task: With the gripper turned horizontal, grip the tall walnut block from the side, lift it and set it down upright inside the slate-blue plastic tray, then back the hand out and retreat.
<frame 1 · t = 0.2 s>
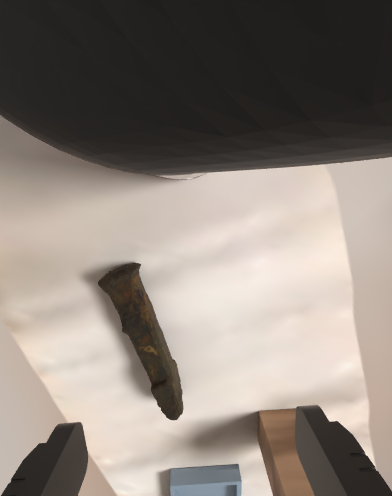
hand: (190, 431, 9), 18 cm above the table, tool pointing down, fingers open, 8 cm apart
tray: (205, 489, 35), on the table
brown rough rod: (158, 332, 28), on the table
walnut block: (276, 423, 32), on the table
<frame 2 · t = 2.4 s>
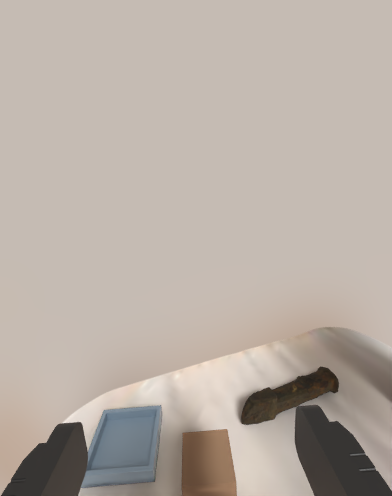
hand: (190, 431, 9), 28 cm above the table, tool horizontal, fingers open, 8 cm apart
tray: (127, 446, 36), on the table
brown rough rod: (291, 408, 41), on the table
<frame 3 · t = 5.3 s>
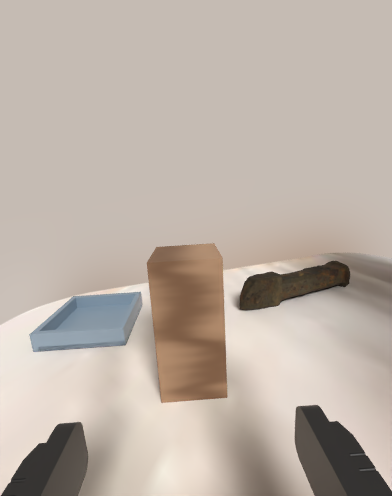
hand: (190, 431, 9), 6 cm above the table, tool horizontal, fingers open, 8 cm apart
tray: (96, 324, 30), on the table
brown rough rod: (297, 299, 35), on the table
walnut block: (193, 375, 20), on the table
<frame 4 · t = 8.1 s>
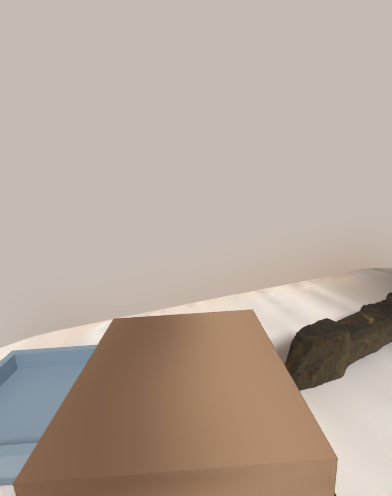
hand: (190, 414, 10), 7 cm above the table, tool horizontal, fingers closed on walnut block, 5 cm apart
tray: (36, 410, 18), on the table
brown rough rod: (363, 358, 22), on the table
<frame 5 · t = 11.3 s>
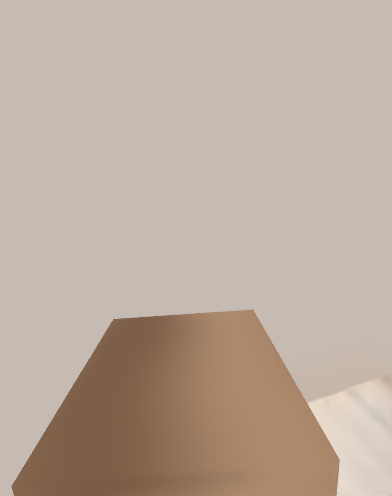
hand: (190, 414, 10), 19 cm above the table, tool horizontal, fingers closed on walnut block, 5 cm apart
when the fingers open (8 cm above the table, at t = 14.8 s): walnut block stays where it is, resting on tray.
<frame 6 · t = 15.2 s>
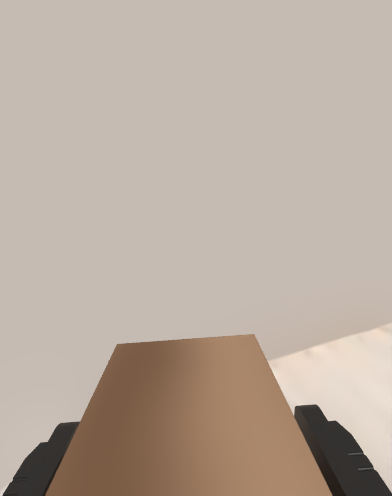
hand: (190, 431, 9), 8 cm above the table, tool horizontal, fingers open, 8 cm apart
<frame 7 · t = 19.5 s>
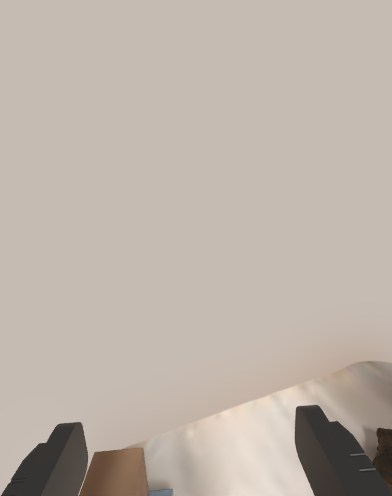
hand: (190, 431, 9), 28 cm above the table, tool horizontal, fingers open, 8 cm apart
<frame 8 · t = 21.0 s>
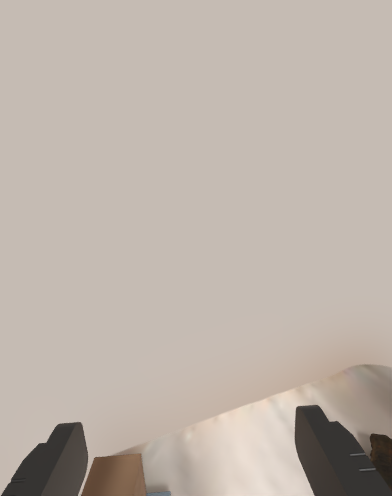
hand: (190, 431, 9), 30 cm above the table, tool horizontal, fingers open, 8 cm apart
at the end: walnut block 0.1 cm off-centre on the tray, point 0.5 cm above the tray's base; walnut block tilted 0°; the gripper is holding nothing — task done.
